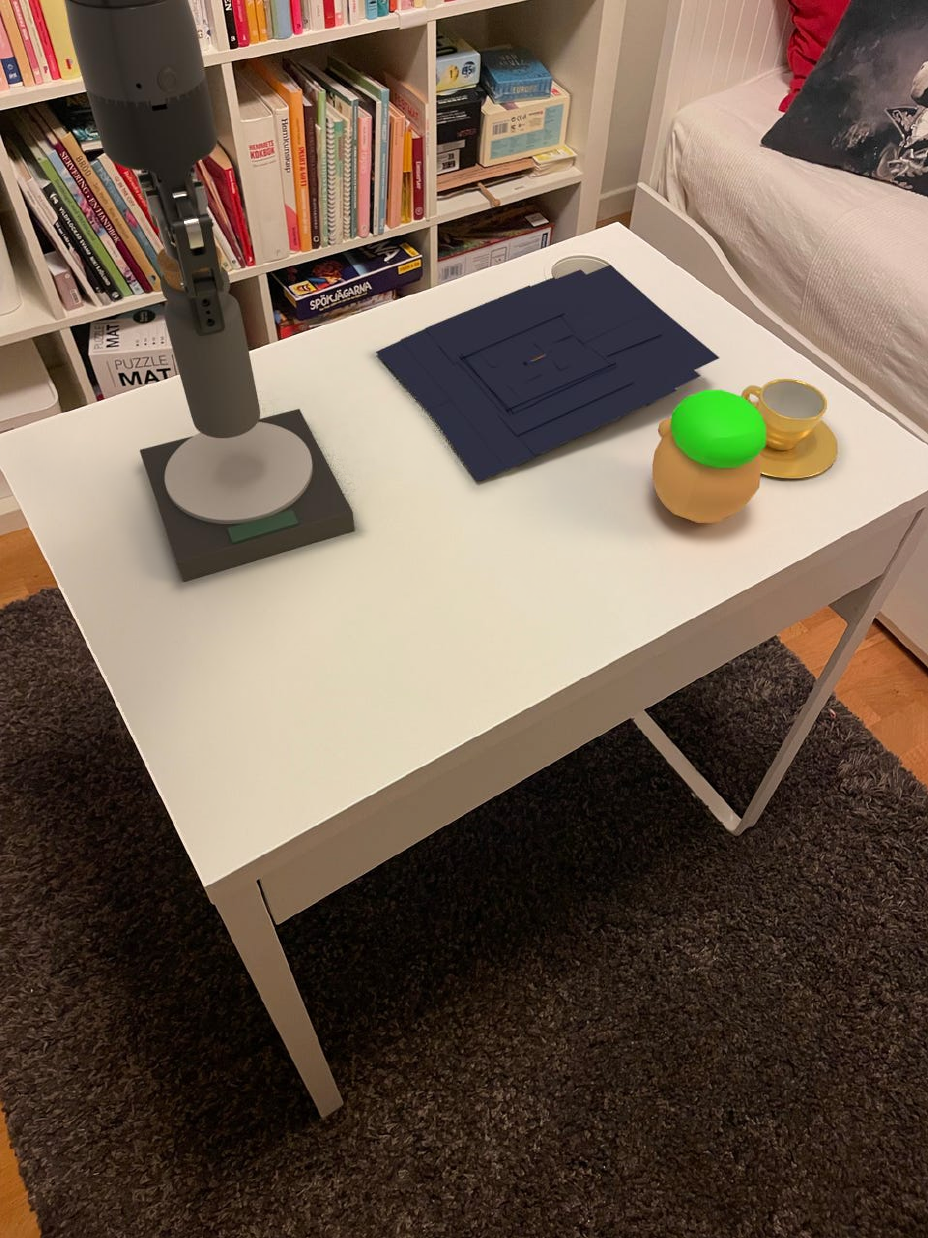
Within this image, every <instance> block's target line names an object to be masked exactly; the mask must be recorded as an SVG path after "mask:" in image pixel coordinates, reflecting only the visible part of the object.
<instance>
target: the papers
mask: <svg viewBox="0 0 928 1238" xmlns="http://www.w3.org/2000/svg"><path fill="white" fill-rule="evenodd" d="M375 353H376V354H377V355H378V357H379V358H380V359H381V360H382V361H383V363H385V365H387V367H388V368H389V369H390V370H391V371H392V373H393V374H394V375H395V376H396V377H397V378H398V379H399V380H400V382H401V383H402V384H403V385H404V386H405V387H406V388H407V389H408V391H409V392H410V393H411V394H412V395H413V396H414V397H415V398H416V400H417V401H418V402H419V403H420V404H421V405H422V407H424V408H425V410H426V411H427V412H428V414H429V415H430V416H431V418H432V419H433V421H434V422H435V424H436V425H437V426H438V428H439V429H440V431H441V432H442V433H443V436H445V438H446V439H447V441H448V442H449V443H450V445H451V446H452V448H453V449H454V451H455V452H456V453H457V455H458V456H459V458H460V459H461V460H462V462H463V464H465V466H466V467H467V469H468V470H469V472H470V474H471V475H472V476H473V478H474V479H475V480H476V482H480V481H482V480H485V479H487V478H490V477H492V476H495V475H497V474H500V473H502V472H504V471H509V470H511V469H512V468H515V467H517V466H519V465H521V464H524V463H525V462H528V461H530V460H531V459H533V458H536V457H538V456H540V455H541V454H543V453H545V452H548V451H549V450H551V449H554V448H556V447H559V446H560V445H562V444H565V443H566V442H569V441H572V440H573V439H576V438H578V437H580V436H582V435H584V434H587V433H588V432H591V431H593V430H595V429H597V428H599V427H603V425H606V424H609V423H610V422H612V421H615V420H617V419H619V418H621V417H623V416H626V415H628V414H629V413H630V414H631V413H632V412H634V411H636V410H638V409H641V408H643V407H647V406H649V405H651V404H654V403H655V402H657V401H659V400H662V399H663V398H665V397H667V396H669V395H672V394H673V393H676V392H677V391H678V390H677V388H679V387H681V386H683V385H686V384H688V383H690V382H692V381H694V380H696V379H697V378H701V377H702V375H701V374H700V373H698V372H697V371H696V370H698V369H700V368H702V367H704V366H706V365H708V364H710V363H712V362H714V361H717V360H718V359H720V356H718V355H717V354H716V353H715V352H714V351H712V350H711V349H710V348H708V347H707V346H706V345H705V344H704V343H702V341H700V340H699V339H698V338H697V337H695V336H694V335H693V334H692V333H690V331H688V330H687V329H686V328H685V327H683V326H682V325H681V324H680V323H678V322H677V321H676V320H675V319H674V318H672V317H671V316H670V315H669V314H668V313H666V312H665V311H664V310H663V309H661V307H659V306H658V305H657V304H656V303H655V302H653V301H652V300H651V299H650V298H649V297H648V296H647V295H646V294H644V293H643V292H642V291H641V290H640V289H639V288H638V287H637V286H635V285H634V284H633V283H632V282H631V281H630V280H629V279H628V278H627V277H625V275H623V274H622V273H621V272H620V271H619V270H617V268H615V267H614V266H613V265H612V264H608V265H606V266H603V267H601V268H598V269H596V270H594V271H591V272H589V273H585V272H584V271H583V270H582V269H578V270H575V271H572V272H570V273H568V274H564V275H561V276H560V277H557V278H556V277H555V276H553V277H550V278H548V279H545V280H543V281H540V282H537V283H535V284H532V285H530V284H529V285H527V286H524V287H521V288H519V289H517V290H514V291H512V292H510V293H507V294H505V295H503V296H500V297H498V298H495V299H492V300H490V301H487V302H485V303H482V304H479V305H477V306H475V307H473V308H471V309H468V310H465V311H463V312H461V313H458V314H456V315H453V316H451V317H449V318H446V319H444V320H441V321H438V322H436V323H434V324H431V325H429V326H427V327H424V329H421V330H419V331H417V332H415V333H412V334H410V335H407V336H405V337H403V338H401V339H400V340H399V341H397V342H395V343H392V344H389V345H387V346H385V347H384V348H380V349H379V350H377V351H375Z"/></svg>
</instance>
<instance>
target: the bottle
mask: <svg viewBox="0 0 928 1238" xmlns="http://www.w3.org/2000/svg"><path fill="white" fill-rule="evenodd" d="M173 244H174V245H175V246H176V243H173ZM216 251H217V256H218V261H219V267H220V272H221V278H222V279H223V282H224V286H223V289H224V292H219V293H218V295H219V300H220V304H221V309H222V314H223V318H224V323H225V329H224V330H223V331H222V332H220V333H216V334H211V335H207V336H199V335H198V334H197V333H196V330H195V328H194V325H193V321H192V317H191V313H190V309H189V305H188V301H187V297H186V293H185V291H184V289H182V287H181V284H180V282H182V281H181V278H180V274H179V271H178V267H177V264H176V261H175V260H173V259H171V258H169V257H168V256H167V255H166V252H165V249H164V247H163V248H162V249H161V250H160V251H159V252H158V253H157V256H156V264H157V265H158V267H159V269H160V271H161V274H162V276H161V277H160V281H159V284H160V289H161V292H162V295H163V297H164V299H166V300H167V301H168V303H167V304H166V306H165V307H164V312H163V317H164V322H165V326H166V330H167V333H168V337H169V341H170V345H171V348H172V353H173V355H174V360H175V363H176V367H177V369H178V373H179V377H180V381H181V384H182V388H183V391H184V395H185V399H186V402H187V406H188V409H189V413H190V417H191V419H192V423H193V425H194V428H196V430H197V431H198V433H202V434H204V435H206V436H209V437H214V438H231V437H236V436H240V435H242V434H244V433H246V432H248V431H250V430H251V429H252V428H254V427H255V425H256V424H257V423H258V421H259V419H261V407H260V400H259V396H258V392H257V391H258V390H257V387H256V381H255V375H254V371H253V366H252V361H251V356H250V350H249V346H248V345H249V344H248V340H247V335H246V330H245V325H244V321H243V316H242V312H241V311H242V310H241V307H240V304H239V302H238V299H236V297H234V296H233V295H232V294H231V293H229V292H230V289H231V280H230V276H229V272H228V271H227V270H226V268H224V267H223V266H222V251H221V249H220V248H219V246H218V245H216ZM203 271H207V269H206V268H204V269H199V270H194V271H193V272H192V274H193V273H198V272H203Z"/></svg>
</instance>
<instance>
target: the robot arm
mask: <svg viewBox="0 0 928 1238" xmlns="http://www.w3.org/2000/svg"><path fill="white" fill-rule="evenodd" d="M63 1H64V3H65V11H66V16H67V23H68V29H69V34H70V38H71V43H72V46H73V50H74V53H75V57H76V60H77V64H78V68H79V71H80V74H81V77H82V82H83V85H84V88H85V92H86V95H87V98H88V102H89V105H90V109H91V111H92V112H91V113H92V116H93V119H94V123H95V126H96V129H97V134H98V137H99V140H100V144H101V147H102V150H103V152H104V154H105V155H106V157H107V158H108V159H109V160H110V161H111V162H113V163H114V164H116V165H118V166H120V167H123V168H124V169H125V168H126V169H129V170H133V171H140V172H141V173H136V179H137V182H138V183H137V184H138V186H139V189H140V192H141V195H142V197H143V200H144V201H145V203H146V208H147V211H148V214H149V217H150V220H151V223H152V225H153V227H154V228H156V229H158V232H159V233H158V238H159V240H160V241H162V245H163V248H164V249H165V252H166V255H167V256H168V257H169V258H171V259H173V260H175V261H176V264H177V267H178V271H179V274H180V278H181V281H182V282H180V284H181V287H182V289H184V291H185V293H186V297H187V301H188V305H189V309H190V313H191V317H192V321H193V325H194V328H195V330H196V333H197V334H198V335H199V336H207V335H211V334H216V333H220V332H222V331H223V330H224V329H225V323H224V318H223V314H222V309H221V304H220V300H219V295H218V293H219V292H224V289H223V286H224V282H223V279H222V278H221V272H220V267H219V261H218V256H217V251H216V246H217V245H216V240H215V234H214V229H213V228H214V223H213V219H212V218H210V216H209V213H208V211H207V208H208V206H209V200H208V197H207V192H206V189H205V186H204V183H203V181H202V179H200V180H199V179H198V176H197V172H196V169H195V165H196V164H197V163H198V162H200V161H201V160H202V161H203V160H205V159H206V158H208V157H209V156H210V155H211V154H212V153H213V152H214V150H215V149H216V147H217V143H218V132H217V127H216V122H215V116H214V111H213V106H212V100H211V96H210V90H209V84H208V79H207V75H206V69H205V63H204V58H203V53H202V48H201V42H200V37H199V33H198V28H197V24H196V21H195V18H194V14H193V11H192V8H191V5H190V1H189V0H63ZM173 243H176V246H175V245H174V244H173ZM204 268H206V269H207V271H203V272H198V273H193V274H192V272H193V271H194V270H199V269H204Z"/></svg>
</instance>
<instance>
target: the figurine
mask: <svg viewBox="0 0 928 1238" xmlns="http://www.w3.org/2000/svg"><path fill="white" fill-rule="evenodd" d="M657 431H658V432H657V433H658V435H659V437H660V441H659V443H658V444H657V446H656V448H655V450H654V453H653V459H652V464H651V465H652V468H651V469H652V470H651V471H652V482H653V486H654V488H655V491H656V495H657V496H658V497H659V499H660V501H661V503H662V504H663V506H664V507H665V508H667V509H668V510H669V511H670V512H671V513H672V514H673V515H675V516H678V517H681V518H684V519H686V520H689V521H692V522H693V523H694V522H695V523H697V524H715V523H718V522H720V521H722V520H724V519H726V518H728V517H730V516H733V515H734V514H737V513H738V512H740V511H742V510H743V508H745V506H746V505H747V504H748V503H749V502H750V501H751V500H752V499H753V497H754V496H755V494H756V493H757V491H759V488H760V485H761V476H762V475H761V474H762V473H761V463H762V457H761V455H760V451H761V450H762V449H763V448H764V447H765V446H766V424H765V422H764V420H763V418H762V416H761V414H760V412H759V411H758V410H757V409H756V408H755V407H754V406H753V405H752V404H751V403H750V402H748V401H747V400H746V399H745V398H744V397H741V395H738V394H735V393H732V392H730V391H727V390H723V389H705V390H701V391H698V392H696V393H694V394H691V395H688V396H686V397H685V398H684V399H682V401H680V402H679V404H677V405H676V406H675V408H674V409H673V410H672V412H671V417H667V418H664V419H662V420H661V422H660V423H659V425H658V429H657Z"/></svg>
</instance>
